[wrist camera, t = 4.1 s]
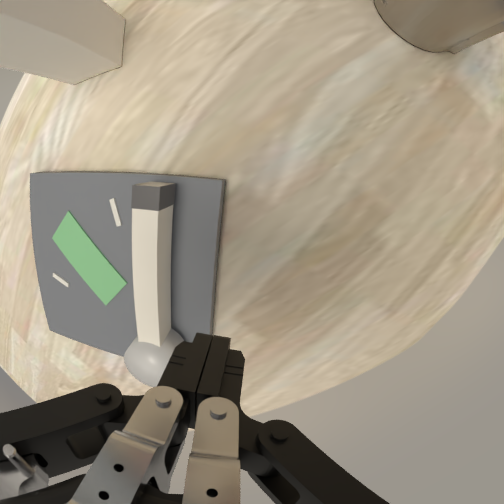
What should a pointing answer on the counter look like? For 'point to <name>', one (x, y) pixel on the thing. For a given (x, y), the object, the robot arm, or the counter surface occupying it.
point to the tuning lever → (152, 281)
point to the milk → (60, 38)
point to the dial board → (119, 253)
